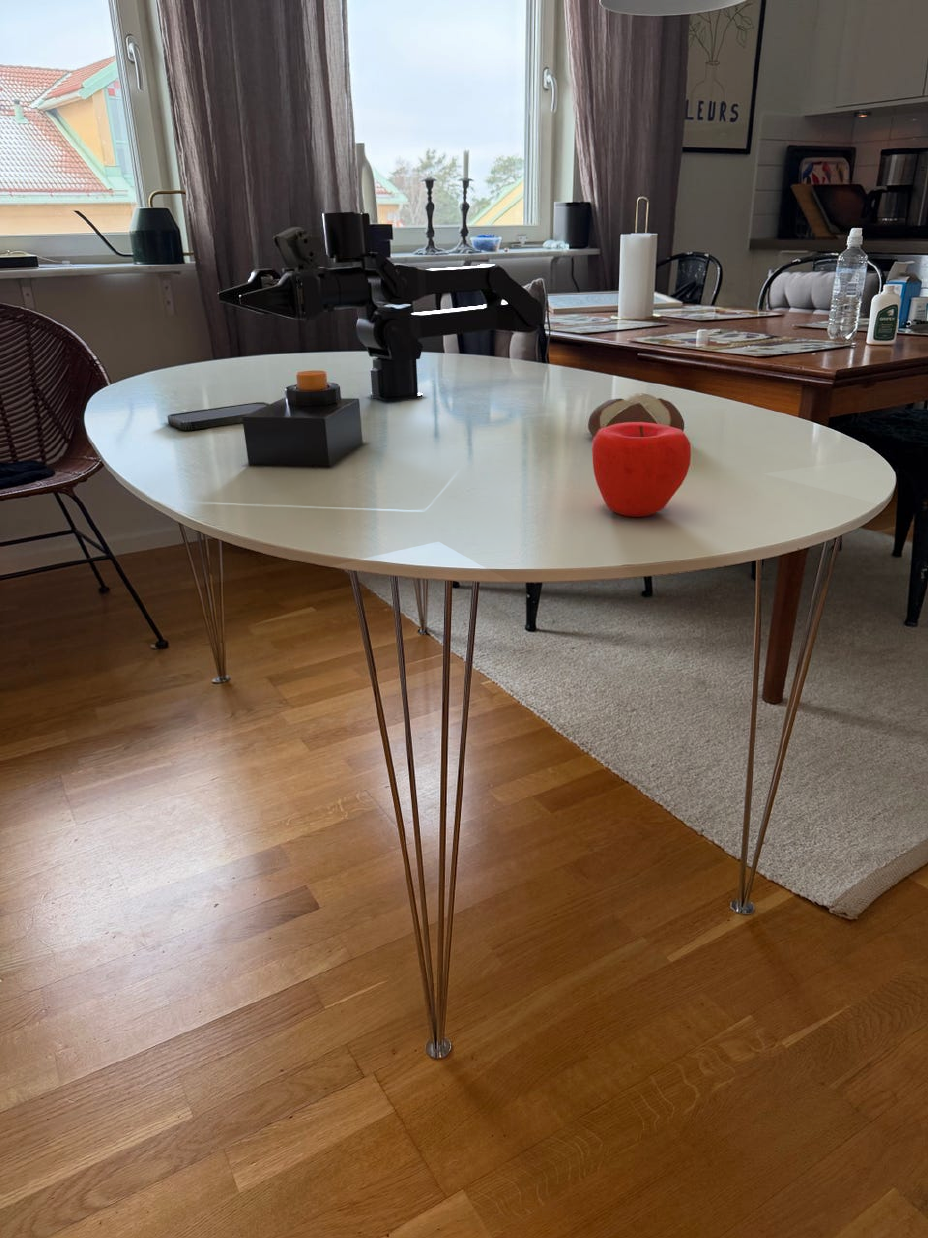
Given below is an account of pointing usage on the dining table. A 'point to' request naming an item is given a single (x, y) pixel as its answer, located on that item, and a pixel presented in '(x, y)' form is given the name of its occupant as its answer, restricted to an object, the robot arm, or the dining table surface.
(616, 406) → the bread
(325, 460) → the black switch box
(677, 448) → the apple
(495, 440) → the dining table surface
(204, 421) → the phone
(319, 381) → the button
